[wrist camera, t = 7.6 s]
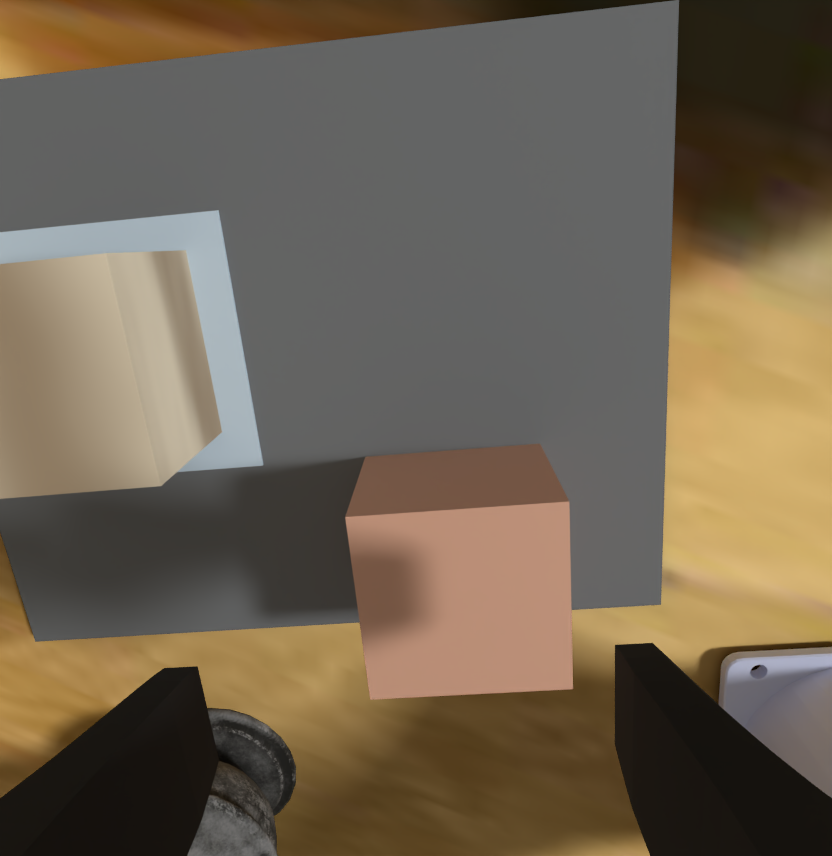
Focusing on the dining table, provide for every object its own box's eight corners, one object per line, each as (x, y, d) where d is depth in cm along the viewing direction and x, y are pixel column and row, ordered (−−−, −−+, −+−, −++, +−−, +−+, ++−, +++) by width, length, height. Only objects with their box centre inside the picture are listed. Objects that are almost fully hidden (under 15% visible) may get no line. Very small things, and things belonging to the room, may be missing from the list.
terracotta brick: (540, 443, 17) (569, 501, 13) (545, 597, 19) (573, 689, 15) (365, 456, 17) (344, 517, 14) (383, 607, 19) (370, 699, 15)
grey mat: (672, 6, 14) (680, -2, 14) (656, 597, 19) (661, 606, 18) (-126, 99, 15) (-144, 94, 15) (43, 633, 20) (33, 643, 20)
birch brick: (185, 250, 16) (105, 253, 12) (222, 432, 17) (161, 485, 13) (3, 269, 16) (-131, 278, 12) (54, 446, 18) (-52, 503, 14)
